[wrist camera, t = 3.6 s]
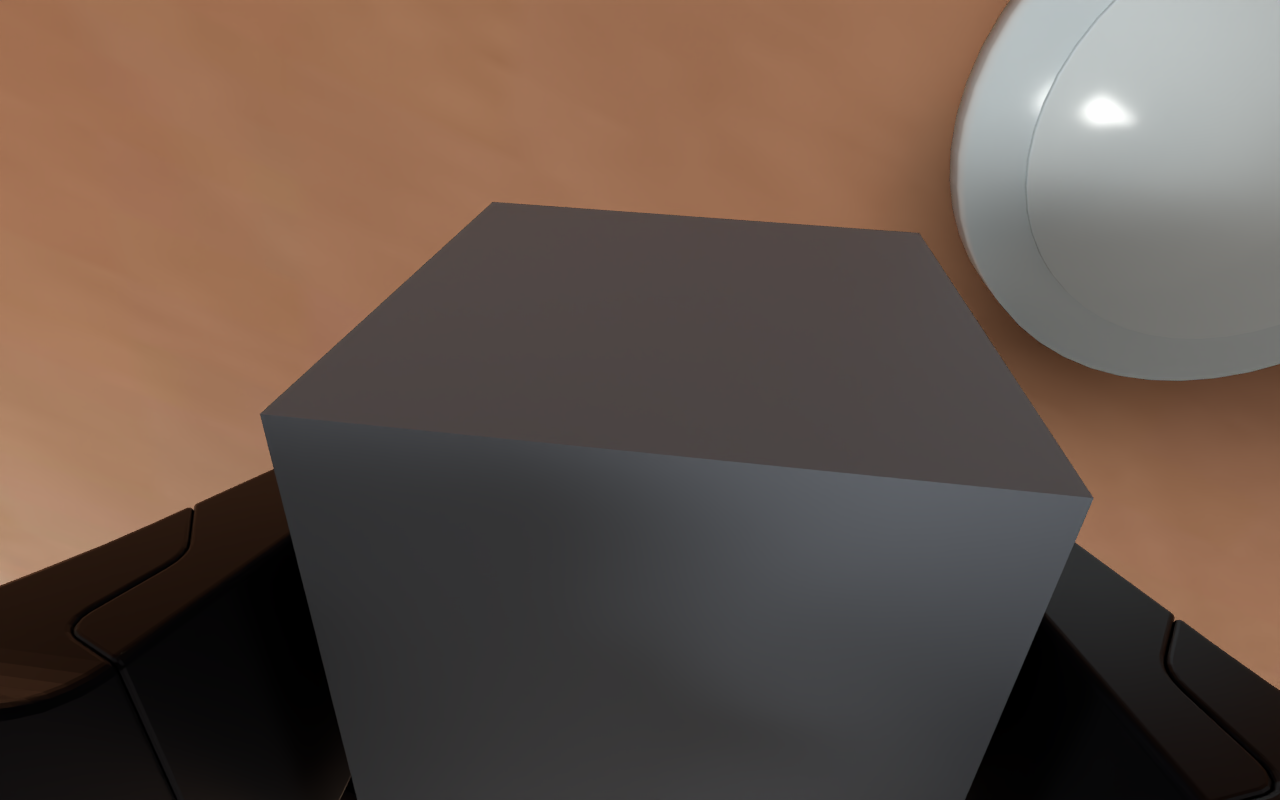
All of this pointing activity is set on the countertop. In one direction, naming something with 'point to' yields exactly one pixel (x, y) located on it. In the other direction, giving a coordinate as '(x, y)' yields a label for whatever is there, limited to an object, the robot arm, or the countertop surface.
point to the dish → (1128, 181)
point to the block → (670, 516)
